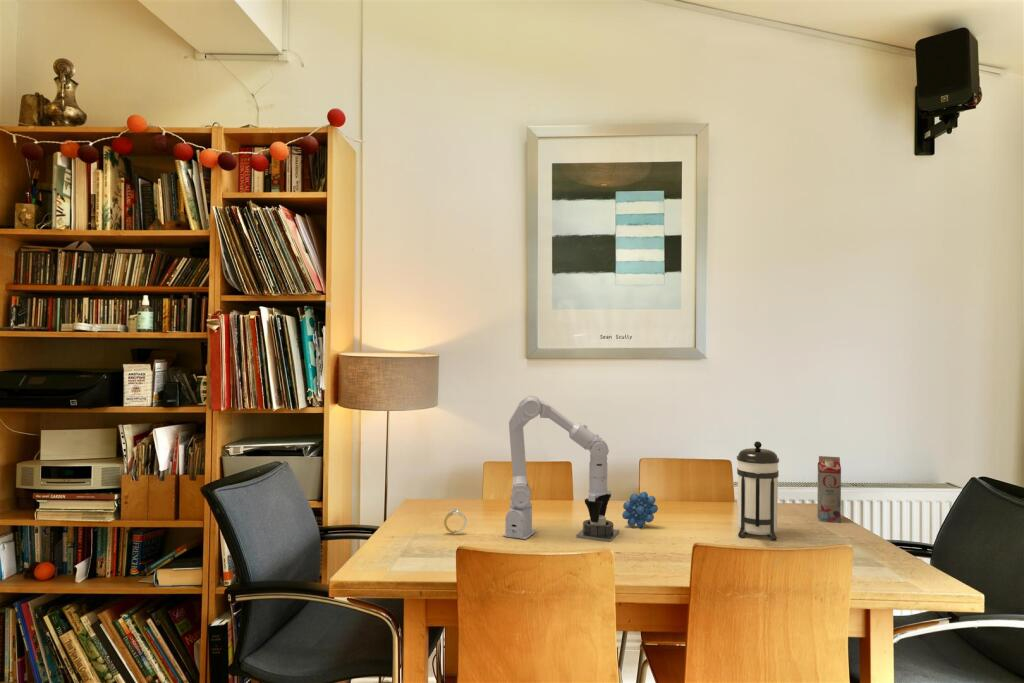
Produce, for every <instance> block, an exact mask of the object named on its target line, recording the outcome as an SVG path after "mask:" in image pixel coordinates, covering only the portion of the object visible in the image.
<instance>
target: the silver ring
mask: <svg viewBox="0 0 1024 683" xmlns="http://www.w3.org/2000/svg"><path fill="white" fill-rule="evenodd" d="M460 511H461V510H460V509H457V508H453V509H450V510H449V511H448V513H447V514H446V516H444V517H445V518H444V520H443V523H444V524H443V526H444V528H445V529H446V531H448V533H450V534H453V535H457V534H461V533H462V532H463V531H464V530H465V528H466V526H467V517H466V516H465V515H464V514H463V512H460ZM453 515H459V516H460V517H461V518H462V519H463V527H462V528H460V529H459V530H452V529H450V528H449V527H448V526H449V525H448V524H447V522H448V521H447V520H448V519H449V518H450V517H452V516H453Z"/></svg>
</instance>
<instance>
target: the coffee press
mask: <svg viewBox="0 0 1024 683" xmlns="http://www.w3.org/2000/svg"><path fill="white" fill-rule="evenodd" d="M753 446H754V448H753V447H752V448H744V449H742V450H740V451H739V452H738V455H736V460H737V468H736V469H737V470H736V474H737V527H738V529H739V532H738V534H737V537H739V538H740V539H744V538H745V536H747V535H749V534H751V535H757V536H767V537H768V539H770V541H771V542H774V541H777V539H778V537H777V534H776V532H777V531H778V514H779V513H778V510H779V509H778V504H779V503H778V498H779V497H778V495H779V494H778V493H779V492H778V491H779V489H778V487H779V485H778V484H779V483H778V482H779V480H778V478H779V463H780V458H779V457H778V454H776V452H774V451H772V450H770V449H767V448H762V443H761V441H759V440H758V441H755V442H754V444H753Z"/></svg>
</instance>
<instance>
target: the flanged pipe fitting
mask: <svg viewBox="0 0 1024 683" xmlns="http://www.w3.org/2000/svg"><path fill="white" fill-rule="evenodd" d="M619 533H620V529H616V528H615V529H614V523H613V522H612V520H607V519H606V525H605V526H594V525H590V519H586V520H584V521H582V529H581V530H580V531H579V532H578V533H577V534H575V535H576V536H575V538H578V539H587V540H594V541H600V542H601V541H602V542H608V543H609V542H612V540H613V539H614V538H616V536H618V535H619Z"/></svg>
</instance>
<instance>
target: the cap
mask: <svg viewBox="0 0 1024 683" xmlns="http://www.w3.org/2000/svg"><path fill="white" fill-rule="evenodd" d="M589 520H590V525H594V526H605V525H606V520H607V517H606V515H605V516H603V515H599V520H598V522H597V523H596V522H591V519H590V518H589Z"/></svg>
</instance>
